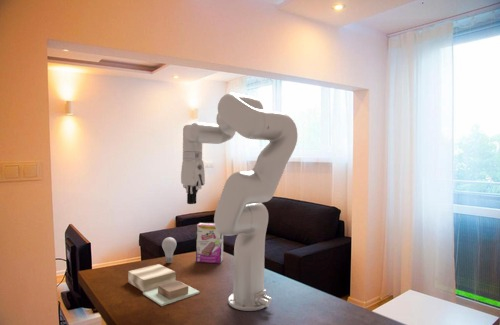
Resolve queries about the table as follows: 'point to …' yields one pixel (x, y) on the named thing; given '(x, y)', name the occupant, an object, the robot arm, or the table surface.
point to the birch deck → (151, 277)
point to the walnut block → (172, 289)
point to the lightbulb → (169, 248)
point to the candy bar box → (209, 244)
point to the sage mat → (163, 301)
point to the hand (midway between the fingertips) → (191, 203)
